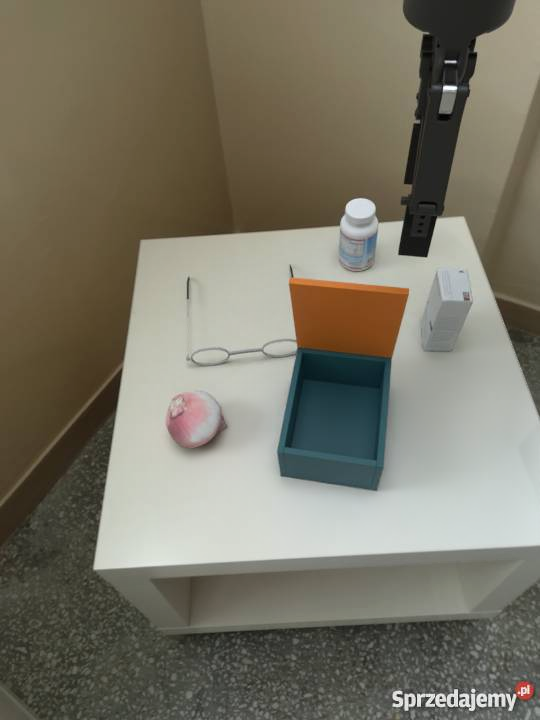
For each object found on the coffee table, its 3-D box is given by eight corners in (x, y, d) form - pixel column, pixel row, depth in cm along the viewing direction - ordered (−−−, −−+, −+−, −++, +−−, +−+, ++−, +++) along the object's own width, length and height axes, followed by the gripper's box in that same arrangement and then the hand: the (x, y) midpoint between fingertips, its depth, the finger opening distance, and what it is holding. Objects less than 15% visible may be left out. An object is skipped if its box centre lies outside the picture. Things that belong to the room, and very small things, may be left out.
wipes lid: (408, 294, 55) (409, 288, 55) (288, 283, 57) (289, 276, 57) (392, 358, 69) (392, 352, 70) (297, 347, 71) (297, 342, 72)
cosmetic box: (419, 320, 83) (434, 265, 73) (449, 320, 82) (467, 265, 72) (423, 353, 79) (439, 300, 69) (454, 353, 79) (474, 300, 69)
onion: (181, 401, 78) (169, 375, 72) (232, 407, 76) (225, 381, 70) (166, 451, 73) (152, 428, 67) (220, 459, 72) (211, 436, 66)
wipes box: (376, 491, 68) (383, 467, 62) (280, 476, 70) (276, 451, 64) (385, 387, 76) (391, 357, 70) (299, 377, 78) (297, 346, 72)
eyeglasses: (188, 369, 80) (183, 354, 77) (188, 280, 91) (183, 263, 88) (306, 355, 80) (305, 339, 77) (291, 268, 91) (290, 250, 88)
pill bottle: (364, 242, 93) (369, 190, 83) (380, 265, 89) (388, 213, 80) (332, 253, 92) (334, 201, 83) (347, 277, 89) (351, 226, 79)
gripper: (416, -109, 41) (384, 146, 60) (400, 33, 29) (367, 297, 48) (518, -112, 40) (453, 149, 58) (545, 36, 28) (453, 305, 47)
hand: (414, 216), depth 53 cm, fingers open, 10 cm apart
